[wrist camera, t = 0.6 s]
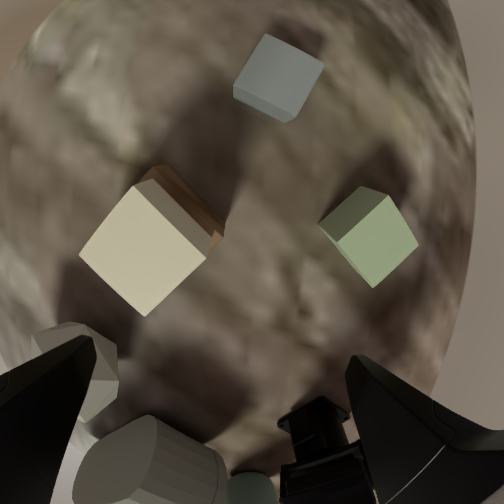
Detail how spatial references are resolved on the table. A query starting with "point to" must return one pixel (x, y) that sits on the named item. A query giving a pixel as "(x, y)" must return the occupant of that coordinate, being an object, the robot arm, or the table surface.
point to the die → (104, 372)
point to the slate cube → (277, 79)
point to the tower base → (188, 200)
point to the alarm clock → (150, 468)
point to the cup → (250, 489)
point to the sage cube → (370, 233)
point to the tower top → (146, 246)
